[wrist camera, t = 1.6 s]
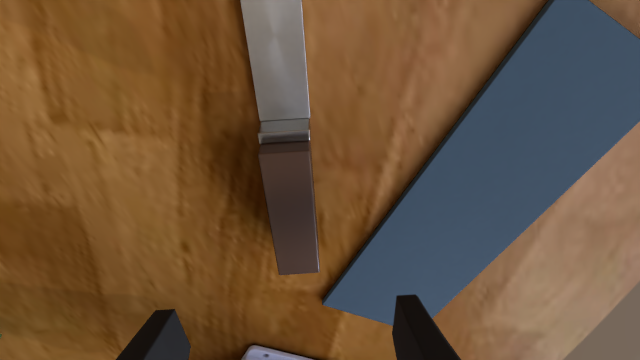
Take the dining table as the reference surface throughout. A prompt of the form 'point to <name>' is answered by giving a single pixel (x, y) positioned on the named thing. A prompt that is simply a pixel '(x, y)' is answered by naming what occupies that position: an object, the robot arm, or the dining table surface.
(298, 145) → the knife
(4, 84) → the dining table surface
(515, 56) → the mat
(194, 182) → the dining table surface
